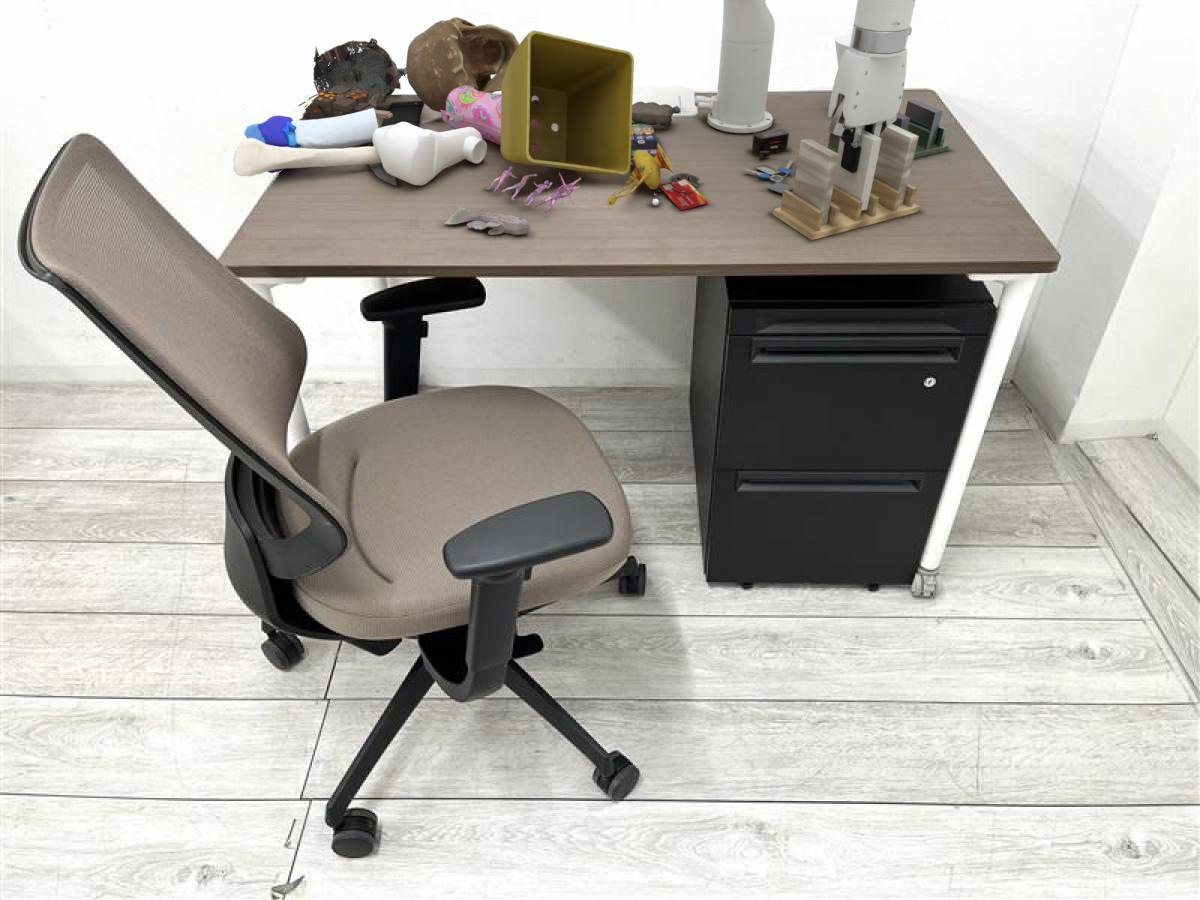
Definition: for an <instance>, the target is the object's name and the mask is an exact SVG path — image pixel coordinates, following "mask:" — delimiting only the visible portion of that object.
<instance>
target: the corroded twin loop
mask: <svg viewBox="0 0 1200 900" xmlns="http://www.w3.org/2000/svg"><path fill="white" fill-rule="evenodd" d="M682 179H687V180H688V181H689V182H690V183H691V184H692V185H693V186H694V187H695V189H696V190H697V191H698V190H700V188H701V187H700V184H698V182H699V181H700V177H698V176H696V175H694V174H690V173H682V172H681V173H676V174H674V175H672V176H670V177H669V180H670V182H673V181H679V180H682ZM671 188H672V187H671ZM673 189H675V188H673ZM675 190H676V189H675ZM685 190H686V188H685ZM696 190H694V191H696ZM677 191H678V190H677ZM680 192H682V191H680ZM690 192H693V191H690ZM682 193H689V192H682Z"/></svg>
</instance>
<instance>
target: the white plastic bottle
mask: <svg viewBox="0 0 1200 900" xmlns="http://www.w3.org/2000/svg"><path fill="white" fill-rule="evenodd" d="M380 127H381V126H380ZM380 127H378V129H376V130H375V132H374V134H373V137H372V139H373V145H374V147H375V148H376V152H377V153H378V155H379V157H380V158H381V161H382V164H383V167H384V169H385V171H386V172H387V173H388V174H390V175H392V176H395V178H397V179H399V180H401V181H403V182H406V183H409V184H411V185H414V186H424V185H427V184H428V183H429V182H431V180H433V179H434V178H435V177H436V176H437V175H439V173H441V172H442V171H443V170H444V169H447V168H449V167H451V166H454V165H456V164H457V163H460V162H461V161H464V160H467V161H469V162H471V163H473V164H477V165H478V164H480V163H481V162H482V161H483V160H484V159H485V158H486V155H487V149H488V144H487V142H486V140H485V139H483V138H482V136H481V134H480V132H479V131H477V130H476V129H475V128H473V127H466V128H460V129H455V130H454V129H450V130H445V131H440V132H439V131H436V130H432V129H427V128H425V129H424V128H422V127H419V126H414V125H412V124H410V123H407V122H400V123H397V124H395V125H390V126H385V127H381V128H380Z"/></svg>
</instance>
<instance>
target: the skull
mask: <svg viewBox="0 0 1200 900" xmlns="http://www.w3.org/2000/svg"><path fill="white" fill-rule="evenodd" d="M519 45H520V42H519V41H518V39H517V37H516V35H514V33H513V32H511V31H509V30H508V29H505V28H501V27H499V26H498V25H495V24H488V23H486V24H480V25H476V24H475V23H473V22H470V21H468V20H467V19H464V18H461V17H458V16H453V17H452V18H450V19H447V20H445V19H443V20H438V21H437V22H435V23H434V24H432V25H431V26H430V27H428V28H427V29H425V30H424V31H422V32H421V33H419V34H418V35H416V36H415V37H413V39H412V40H411V42H410V43H409V45H408V47H407V51H406V64H405V67H406V70H407V74H406V78H407V82H408V84H409V86H410V87H411V88H412V90H413V91H414V93H415V94H416V96H417V97H418V99H420V101H423V103H425V104H424V105H425V106H427V107H428V108H429V109H430V110H432V111H434V112H436V113H441V110H443V111H446V100H447V97H448V95H449V94H450V92H451V91H452V90H454V89H456V88H458V87H460V86H465V85H469V86H471V87H473V88H474V89H475V90H477V91H478V92H484V93H491V94H495V93H496V92H501V87H502V81H503V78H504V75H505V72H506V69H507V67H508V64H509V62H510V60H511V58H512V56H513V54H514V52H515V51H516V49H517V48H518V46H519ZM493 75H494V76H493Z"/></svg>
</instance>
